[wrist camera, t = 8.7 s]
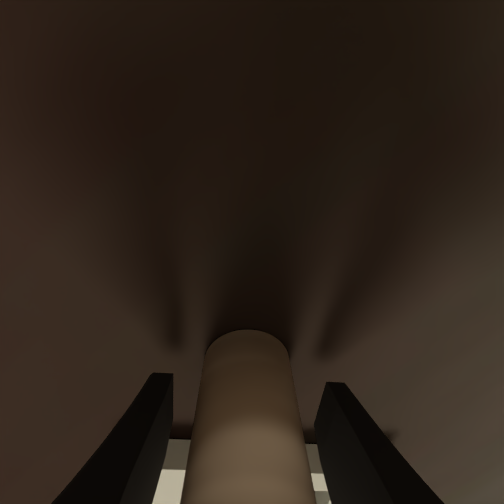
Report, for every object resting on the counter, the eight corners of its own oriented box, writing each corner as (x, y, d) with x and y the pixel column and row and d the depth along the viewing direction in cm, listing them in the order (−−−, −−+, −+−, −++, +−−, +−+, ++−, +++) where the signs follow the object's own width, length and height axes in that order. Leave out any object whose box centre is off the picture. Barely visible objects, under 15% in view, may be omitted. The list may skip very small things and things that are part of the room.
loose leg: (204, 327, 10) (135, 681, 4) (294, 331, 10) (376, 675, 4) (204, 392, 11) (152, 735, 5) (283, 394, 12) (332, 730, 5)
